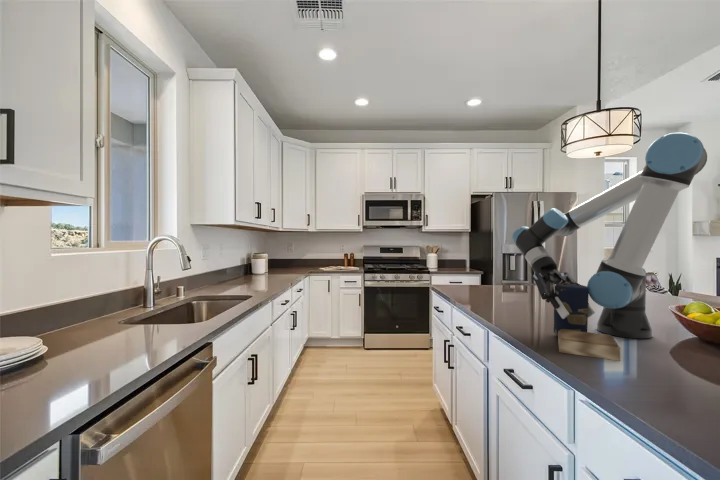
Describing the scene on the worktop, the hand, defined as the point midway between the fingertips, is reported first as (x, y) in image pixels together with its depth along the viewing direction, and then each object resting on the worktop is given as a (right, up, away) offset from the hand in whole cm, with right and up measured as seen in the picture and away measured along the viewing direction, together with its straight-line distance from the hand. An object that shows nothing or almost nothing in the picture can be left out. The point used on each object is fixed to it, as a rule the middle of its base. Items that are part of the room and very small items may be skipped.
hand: (578, 315), depth 110 cm
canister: (-1, -8, +3) cm, 8 cm away
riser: (-4, -8, -10) cm, 13 cm away
